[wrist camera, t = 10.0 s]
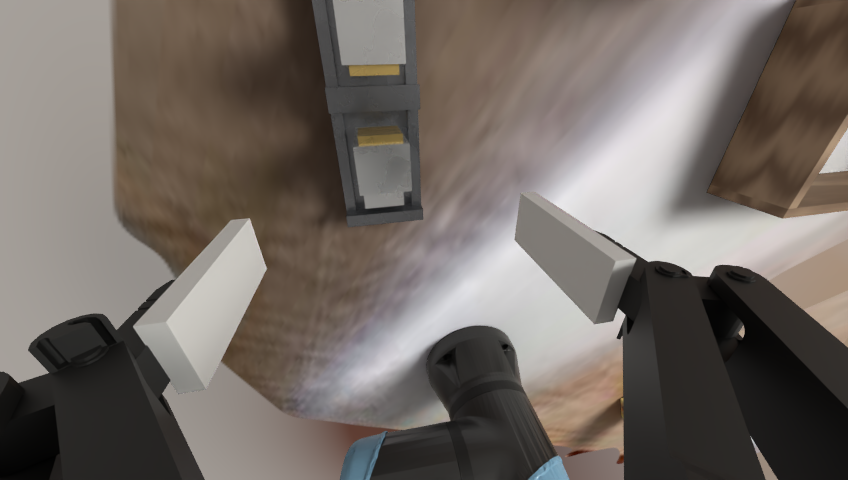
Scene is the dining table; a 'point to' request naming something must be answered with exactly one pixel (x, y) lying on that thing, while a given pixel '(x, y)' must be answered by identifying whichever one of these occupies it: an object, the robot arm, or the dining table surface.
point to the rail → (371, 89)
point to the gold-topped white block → (382, 165)
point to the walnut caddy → (794, 120)
